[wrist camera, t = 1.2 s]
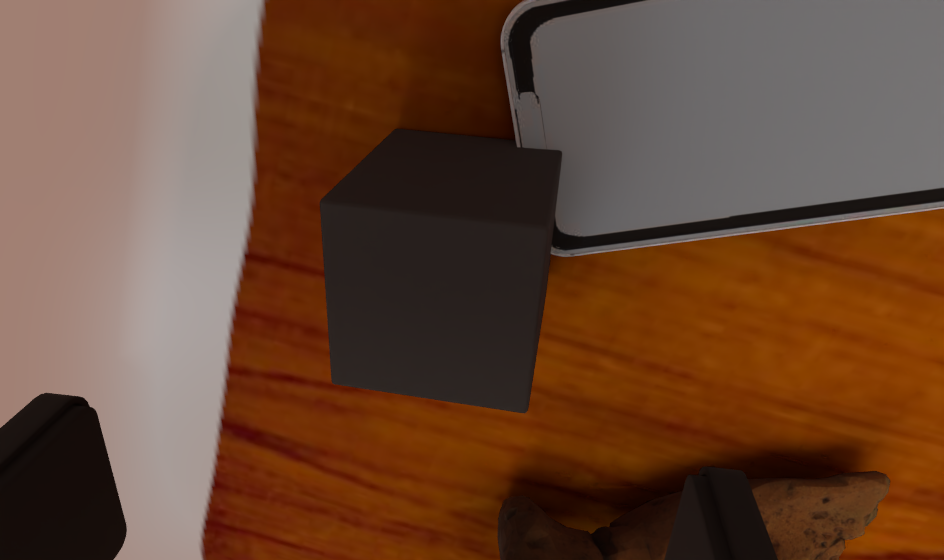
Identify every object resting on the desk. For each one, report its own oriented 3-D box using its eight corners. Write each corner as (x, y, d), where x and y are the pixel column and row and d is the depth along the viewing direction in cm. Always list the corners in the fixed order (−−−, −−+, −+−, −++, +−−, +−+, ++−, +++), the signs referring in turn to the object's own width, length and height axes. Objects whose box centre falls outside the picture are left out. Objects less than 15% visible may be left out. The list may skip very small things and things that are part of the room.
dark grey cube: (394, 127, 19) (317, 200, 14) (564, 144, 19) (549, 227, 13) (395, 276, 22) (330, 385, 16) (545, 295, 21) (527, 415, 16)
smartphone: (1102, 190, 17) (536, 262, 20) (1079, 179, 18) (536, 251, 21) (1184, -135, 14) (493, 3, 17) (1151, -131, 15) (495, 1, 17)
